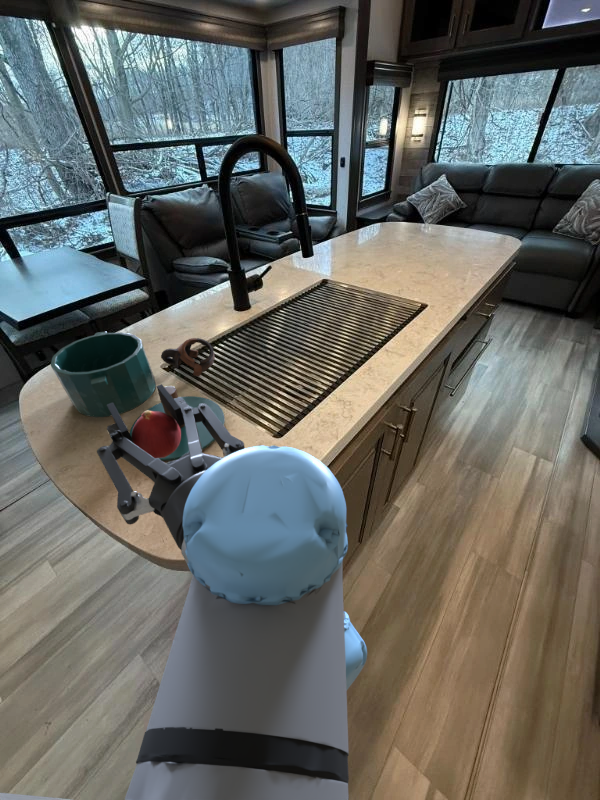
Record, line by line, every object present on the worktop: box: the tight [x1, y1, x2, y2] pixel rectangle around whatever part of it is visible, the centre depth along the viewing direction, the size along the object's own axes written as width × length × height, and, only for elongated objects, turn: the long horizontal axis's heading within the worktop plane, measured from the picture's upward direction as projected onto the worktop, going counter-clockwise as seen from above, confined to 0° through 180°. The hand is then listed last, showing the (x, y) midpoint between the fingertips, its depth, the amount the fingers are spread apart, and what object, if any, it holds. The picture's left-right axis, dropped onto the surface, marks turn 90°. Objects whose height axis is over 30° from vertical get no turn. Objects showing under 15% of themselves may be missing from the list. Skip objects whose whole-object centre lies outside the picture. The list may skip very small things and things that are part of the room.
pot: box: [50, 331, 157, 418], centre depth 71 cm, size 17×22×10 cm
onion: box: [132, 409, 181, 458], centre depth 43 cm, size 6×6×8 cm
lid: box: [129, 385, 226, 462], centre depth 62 cm, size 18×18×9 cm
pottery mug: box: [160, 337, 215, 377], centre depth 79 cm, size 12×10×8 cm
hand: (138, 402), depth 45 cm, fingers closed on onion, 6 cm apart
